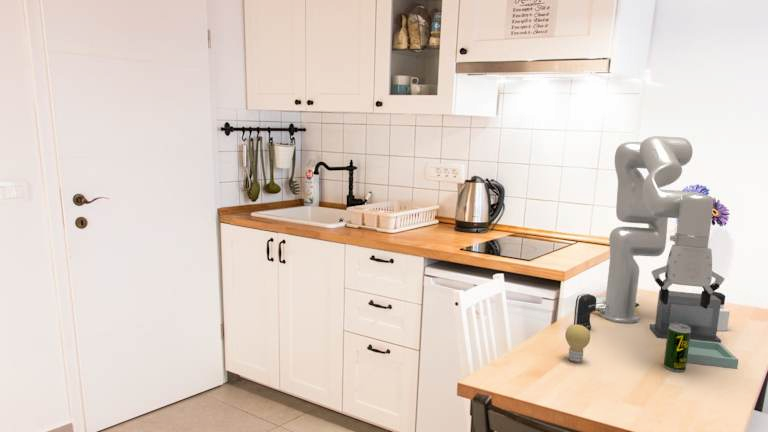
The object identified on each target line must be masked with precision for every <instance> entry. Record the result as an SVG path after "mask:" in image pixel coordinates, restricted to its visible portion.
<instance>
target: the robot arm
mask: <svg viewBox="0 0 768 432" xmlns="http://www.w3.org/2000/svg"><path fill="white" fill-rule="evenodd" d="M693 150H694V149H693V146H692V144H691V142H690V140H688V139H686V138H685V137H679V136H677V137H676V136H661V135H660V136H650V137H647V138H646V139H644V140H642V141H628V142H624V143H620V145H619V146H618V147H617V148H616V150H615V154H614V168H615V172H616V175H617V191H616V195H617V196H616V204H615V205H616V207H615V208H616V209H615V210H616V217H617V220H618V221H620V222H623V223H629V224H645V225H646V224H647V226H648V227H639V226H619V227H616V228H614V229H612V231H611V232H610V234H609V242H608V243H609V266H608V276H607V282H606V293H605V300H602V302H600V303H597V302H596V310H595V311H599V313H598V314H599V315H600V317H602V318H603V319H606V320H608V321H612V322H616V323H624V324H625V323H626V324H633V323H637V322H639V320H640V317H639V316H638V314H636V313H635V312H636V302H637V294H638V285H639V278H640V277H639V276H640V267H639V265H638V262H637V261H636V260H635V258H634V256H637V257H638V256H641V257H659V256H661V255H663V254H664V251H665V250H666V245H667V244H666V243H667V235H668V233H667V232H668V218H670V219H677V225H676V231H675V234H674V235H670V236H669V241H671V242H674V243H675V244H671V248H670V251H669V254H668V257H667V261H666V264H665V265H664V266H661V267H658V268H656V269H653V270H652V271H651V274H652V277H653V279H654V281H655V283H656V284H657V285H658V286H659V287H660V290H661V291H660V300H661V302H662V303H663V304H665V305H666V304H667V303H668V295H669V291H670V290H669V288H670V286H672V285H678V286H688V287H689V286H690V287H699V288H700V287H701V288H703V290H702V291H701V293H700V294H701V302H700V305H701V306H702V307H703V308H705V309H707V306H708V305H709V304H710V297H711V294H712V293H713V292H716V291H717V290H718V289H719V288H720V286H721V285H722V284H723V282H724V281H725V278H724V277H723V276H721V275H720V274H718V273H716V272H714V270H713V253H712V249H711V248H709V242H710V240H709V239H710V234H711V232H710V231H711V226H712V216H713V209H714V198H713V197H712V196H711V195H709V194H708V195H707V194H702V193H700V192H697V191H687V190H674V189H673V190H671V189H660V188H663V187H666V186H669V185H671V184H673V183H675V182H676V181H677V180H679V178H680V177H681V176H682V173H683V167H684V166H686V165H687V164H688V163H690V161H691V159H692V157H693V153H694V152H693ZM639 169H644V170H645V169H646V170H647V172H648V175H646V177H644V175H643V173H642V172H641V171H640V170H639ZM661 274H664V277H665V279H663V280H662V279H661V277H660V275H661ZM712 277H713V278H714V279H715V280H714V282H713V283H712Z"/></svg>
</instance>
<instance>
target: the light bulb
mask: <svg viewBox="0 0 768 432" xmlns="http://www.w3.org/2000/svg"><path fill="white" fill-rule="evenodd" d="M565 340H566V343H567V344H568V346H569V348H568V359H569V360H570V361H571V362H574V363H580V362H582V361H583V358H584V349H585V348H586V347H588V345H589V344H590V341H591V333H590V331H589V330H588V329H587V328H586V327H584V326H582V325H574V324H572V325H570V326H568V327H567V328H566V330H565Z"/></svg>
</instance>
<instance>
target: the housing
mask: <svg viewBox="0 0 768 432" xmlns="http://www.w3.org/2000/svg"><path fill="white" fill-rule="evenodd" d="M660 291H661V289H659V292H658V297H657V306H656V313H655V319H654V320H655V322H654V323H650V325H649V329H650V331H652V333H653V334H654V336H655V337H656V338H658V339H664V338H665V340H667V335H668V327H669V326H670V323H681V324H685V325H688V326H689V327H690V330H691V335H690V339H691V340H700V341H709V342H718V343H721V344H722V340H721V338H719V337H718V336H717V326H718V319H719V312H720V305H721V300H720V299H718V298H717V297H716V296H714V295H711V297H710V304H709V305H708V306H707V309H705V308H703V307H702V306H701V305H700V302H701V294H702V293H697V292H696V293H695V292H688V291H687V292H685V291H677V290H676V291H674V290H669V295H668V303H667V304H666V305H665V304H663V303H662V302H661V300H660Z"/></svg>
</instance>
